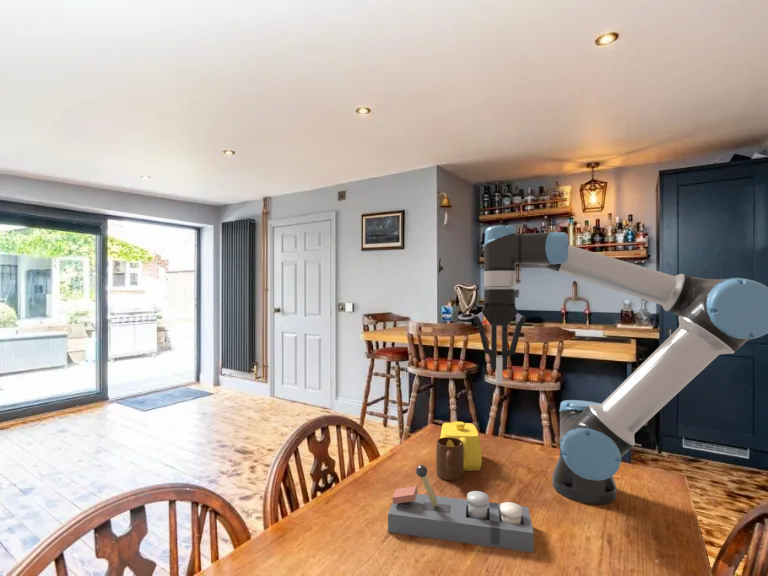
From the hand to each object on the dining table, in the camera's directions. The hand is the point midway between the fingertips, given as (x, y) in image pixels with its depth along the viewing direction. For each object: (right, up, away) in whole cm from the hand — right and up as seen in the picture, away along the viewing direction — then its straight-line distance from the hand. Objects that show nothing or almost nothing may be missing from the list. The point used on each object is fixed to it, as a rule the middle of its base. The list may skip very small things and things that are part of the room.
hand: (499, 382), depth 103 cm
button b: (-8, -27, -13) cm, 31 cm away
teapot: (-6, -29, +23) cm, 38 cm away
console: (-12, -30, -12) cm, 34 cm away
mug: (-11, -30, +11) cm, 33 cm away
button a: (-1, -28, -15) cm, 32 cm away
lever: (-17, -26, -11) cm, 33 cm away
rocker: (-24, -24, -10) cm, 35 cm away
